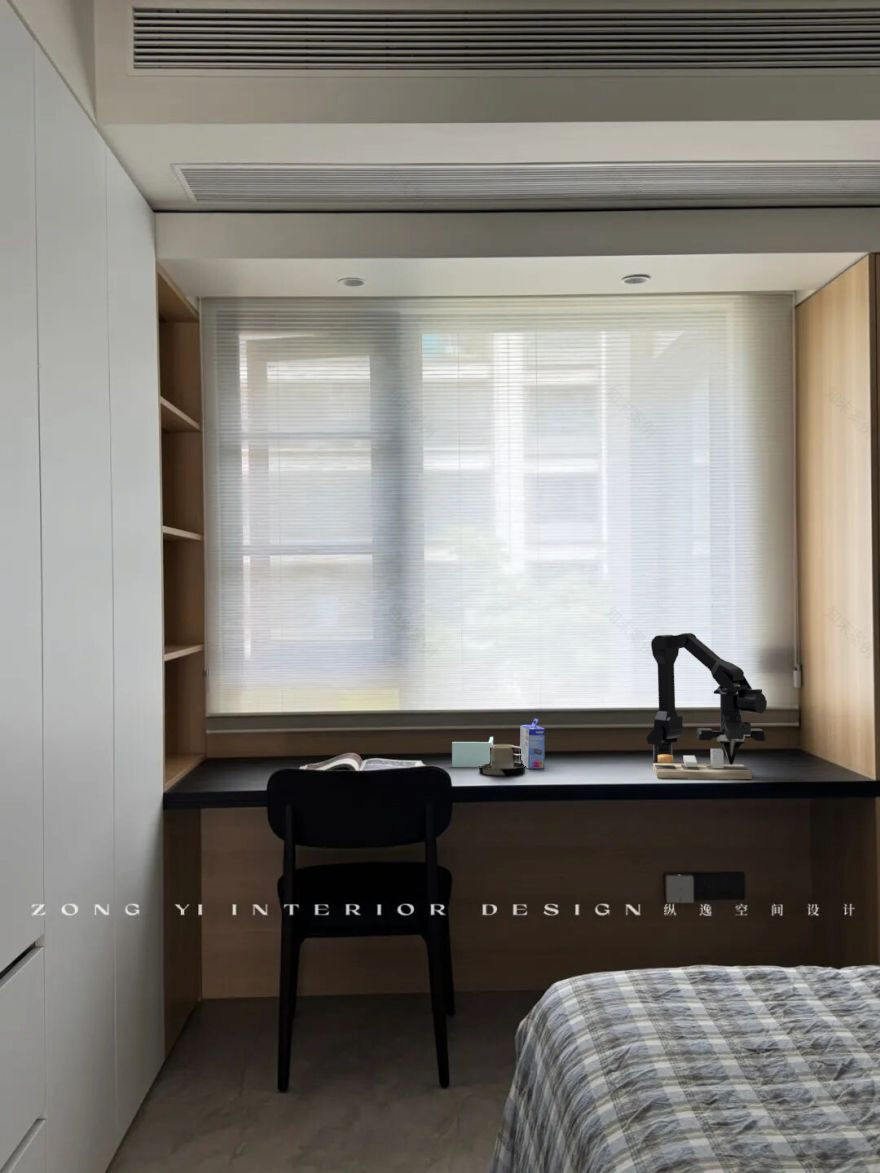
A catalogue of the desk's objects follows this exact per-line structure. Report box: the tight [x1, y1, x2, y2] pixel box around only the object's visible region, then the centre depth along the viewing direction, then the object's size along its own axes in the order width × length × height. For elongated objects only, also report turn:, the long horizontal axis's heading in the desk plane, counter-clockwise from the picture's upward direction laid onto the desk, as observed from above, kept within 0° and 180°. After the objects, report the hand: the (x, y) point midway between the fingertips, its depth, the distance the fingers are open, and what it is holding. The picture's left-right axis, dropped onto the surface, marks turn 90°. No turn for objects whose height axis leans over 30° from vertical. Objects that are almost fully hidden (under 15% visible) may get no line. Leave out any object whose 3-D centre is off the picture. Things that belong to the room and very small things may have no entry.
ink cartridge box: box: [519, 718, 546, 770], centre depth 298 cm, size 10×6×14 cm, turn 11°
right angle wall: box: [451, 736, 494, 768], centre depth 304 cm, size 12×12×8 cm
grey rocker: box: [682, 755, 698, 767], centre depth 283 cm, size 6×3×1 cm, turn 173°
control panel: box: [652, 762, 753, 780], centre depth 282 cm, size 14×26×2 cm, turn 83°
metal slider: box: [710, 748, 725, 768], centre depth 282 cm, size 4×3×5 cm
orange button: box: [658, 754, 674, 763], centre depth 284 cm, size 4×4×2 cm
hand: (731, 764), depth 281 cm, fingers closed
